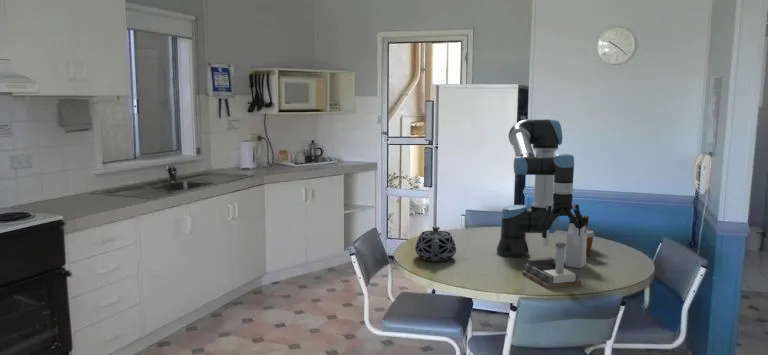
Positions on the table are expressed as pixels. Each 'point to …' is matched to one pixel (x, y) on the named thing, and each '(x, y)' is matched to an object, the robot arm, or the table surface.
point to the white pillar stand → (560, 267)
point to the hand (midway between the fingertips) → (560, 244)
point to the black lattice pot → (435, 245)
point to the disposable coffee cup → (589, 242)
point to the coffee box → (586, 220)
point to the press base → (536, 273)
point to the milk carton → (576, 248)
